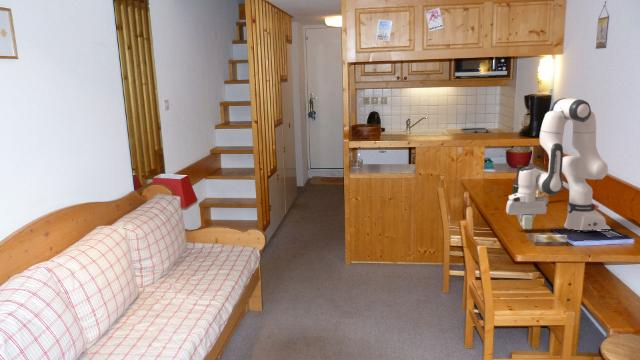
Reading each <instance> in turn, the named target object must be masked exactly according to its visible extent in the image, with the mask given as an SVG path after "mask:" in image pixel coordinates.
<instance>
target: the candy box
mask: <svg viewBox="0 0 640 360" xmlns="http://www.w3.org/2000/svg"><path fill="white" fill-rule="evenodd" d="M549 196H550V195H549V194H547V193H545V192H544V191H542V190H540V189H537V190H536V197H545V198H546V199H547V203H546V205H547V204H549V201H550V200H549Z"/></svg>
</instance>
